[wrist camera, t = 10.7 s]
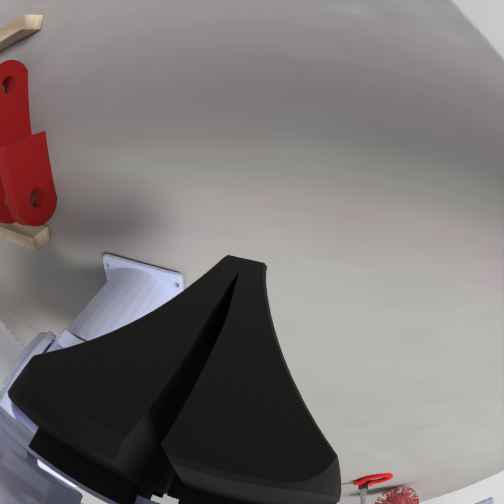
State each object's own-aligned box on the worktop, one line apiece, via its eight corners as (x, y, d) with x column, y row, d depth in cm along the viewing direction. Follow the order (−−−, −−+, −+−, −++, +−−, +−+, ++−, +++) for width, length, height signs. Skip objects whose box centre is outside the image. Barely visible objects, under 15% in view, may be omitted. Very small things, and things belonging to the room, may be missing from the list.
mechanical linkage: (62, 211, 22) (26, 236, 18) (25, 210, 23) (-6, 231, 19) (43, 49, 14) (0, 53, 10) (6, 72, 15) (-31, 81, 11)
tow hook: (380, 470, 45) (350, 480, 49) (380, 517, 34) (348, 523, 38) (398, 472, 46) (370, 482, 50) (400, 515, 35) (369, 522, 39)
